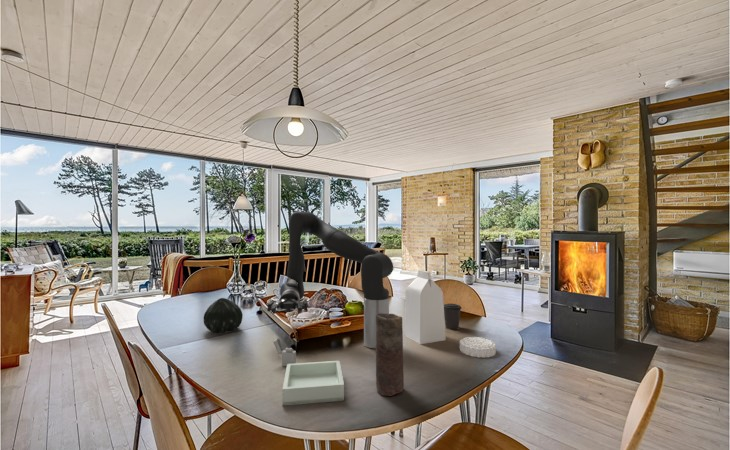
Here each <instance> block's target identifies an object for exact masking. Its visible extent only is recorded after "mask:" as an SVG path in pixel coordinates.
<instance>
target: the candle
mask: <svg viewBox="0 0 730 450" xmlns="http://www.w3.org/2000/svg"><path fill="white" fill-rule="evenodd" d="M403 338H404V328H403V317H402V316H400V315H397V314H394V313H389V314H385V313H384V314H383V313H378V314H376V349H375V388H376V390H377V392H378V394H379V395H381V396H388V397H389V396H390V397H392V396H394V395H397V394H399V393H402V392H403V391H404V387H405V386H404V385H405V384H404V383H405V381H404V379H405V378H404V375H405V374H404V348H403V347H404V345H403V344H404V343H403V342H404V340H403Z"/></svg>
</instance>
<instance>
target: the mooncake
mask: <svg viewBox="0 0 730 450" xmlns="http://www.w3.org/2000/svg"><path fill="white" fill-rule="evenodd" d="M459 350H460V352H461V353H462V354H465V355H467V356H471V357H475V358H483V359H484V358H490V357H494V356H496V354H497V344H496V343H495V342H494V341H492V340H490V339H487V338H484V337H478V336H466V337H464V338H462V339H460V340H459Z"/></svg>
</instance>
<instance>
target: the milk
mask: <svg viewBox="0 0 730 450" xmlns="http://www.w3.org/2000/svg"><path fill="white" fill-rule="evenodd" d="M404 302H405V303H404V320H403V321H404V322H403V336H405V337H407V338H408V339H410V340H412V341H414V342H416V343H417V344H419V345H424V344H431V343H436V342H443V341H446V325H445V317H444V305H445V302H444V293H443V290H442V288H441V287H440V286H439V285H438V284H437V283H436V282H435V281H434V280H433V279H432V277H431V272H430V271H426V270H424V269H423V270H421V269H420V270H419V269H418V272H417V275H416V277H415V278H414V279H413V280H412V281H411V282H410V284H408V286H407V287H406V289H405V300H404Z"/></svg>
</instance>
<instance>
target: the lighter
mask: <svg viewBox="0 0 730 450" xmlns="http://www.w3.org/2000/svg"><path fill="white" fill-rule="evenodd" d="M272 343H273V345H274V347H275V349H276V352H277V354H280V353H281V366H283V367H287V364H294V363H297V352H296V351H297V350H294V349H293V348H292V347H285V348H284V347H283V345H282V342H281V340H280V338H276V339H274V340H273V342H272Z"/></svg>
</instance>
